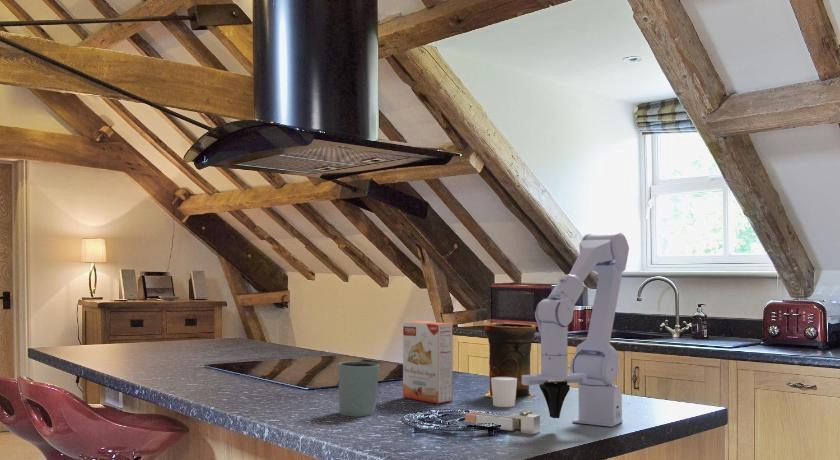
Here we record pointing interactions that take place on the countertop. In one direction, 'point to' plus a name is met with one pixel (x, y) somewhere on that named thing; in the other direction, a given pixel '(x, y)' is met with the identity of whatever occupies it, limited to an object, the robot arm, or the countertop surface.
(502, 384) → the white tapered cup
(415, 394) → the cracker box
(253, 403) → the countertop surface
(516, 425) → the bar
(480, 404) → the countertop surface
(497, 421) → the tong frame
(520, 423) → the lock bolt
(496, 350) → the vessel
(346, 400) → the green cup
